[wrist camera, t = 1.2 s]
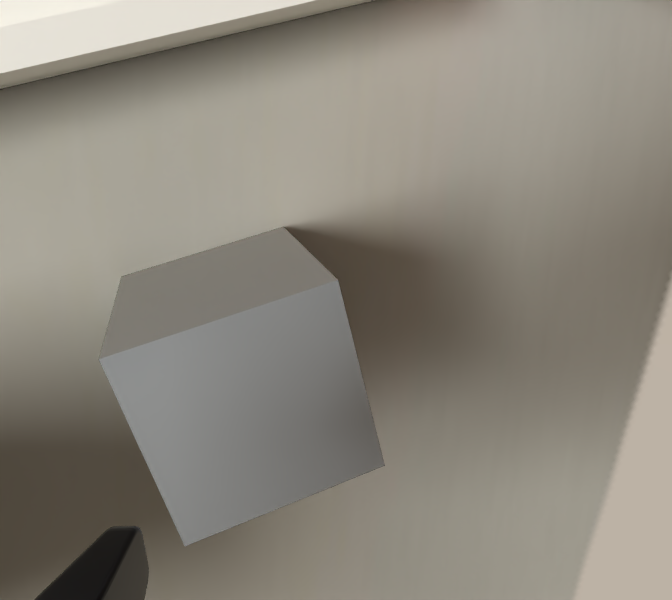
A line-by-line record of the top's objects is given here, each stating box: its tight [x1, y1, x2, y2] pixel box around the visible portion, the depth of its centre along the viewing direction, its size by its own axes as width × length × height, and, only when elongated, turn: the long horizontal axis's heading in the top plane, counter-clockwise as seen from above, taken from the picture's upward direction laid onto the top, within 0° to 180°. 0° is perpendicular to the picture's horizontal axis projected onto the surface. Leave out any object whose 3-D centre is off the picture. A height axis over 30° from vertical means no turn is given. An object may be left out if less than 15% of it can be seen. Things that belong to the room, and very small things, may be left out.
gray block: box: [99, 227, 385, 546], centre depth 15 cm, size 5×5×6 cm
